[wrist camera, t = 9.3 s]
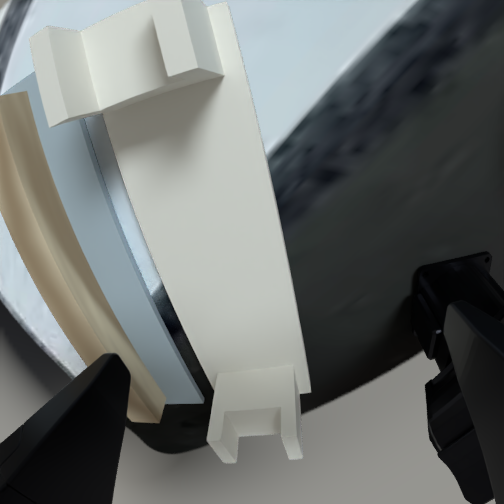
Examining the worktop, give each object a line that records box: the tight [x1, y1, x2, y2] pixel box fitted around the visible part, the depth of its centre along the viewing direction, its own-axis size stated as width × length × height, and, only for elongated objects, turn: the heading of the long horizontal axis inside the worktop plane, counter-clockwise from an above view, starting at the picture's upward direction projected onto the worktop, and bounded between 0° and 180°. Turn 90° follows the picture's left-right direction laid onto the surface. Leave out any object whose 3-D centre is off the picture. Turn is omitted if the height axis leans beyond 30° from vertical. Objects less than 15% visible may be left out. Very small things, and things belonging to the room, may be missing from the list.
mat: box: [2, 71, 205, 404], centre depth 22 cm, size 10×30×1 cm, turn 13°
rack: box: [29, 0, 311, 463], centre depth 17 cm, size 8×28×8 cm, turn 13°
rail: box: [0, 91, 166, 423], centre depth 20 cm, size 3×28×3 cm, turn 13°
